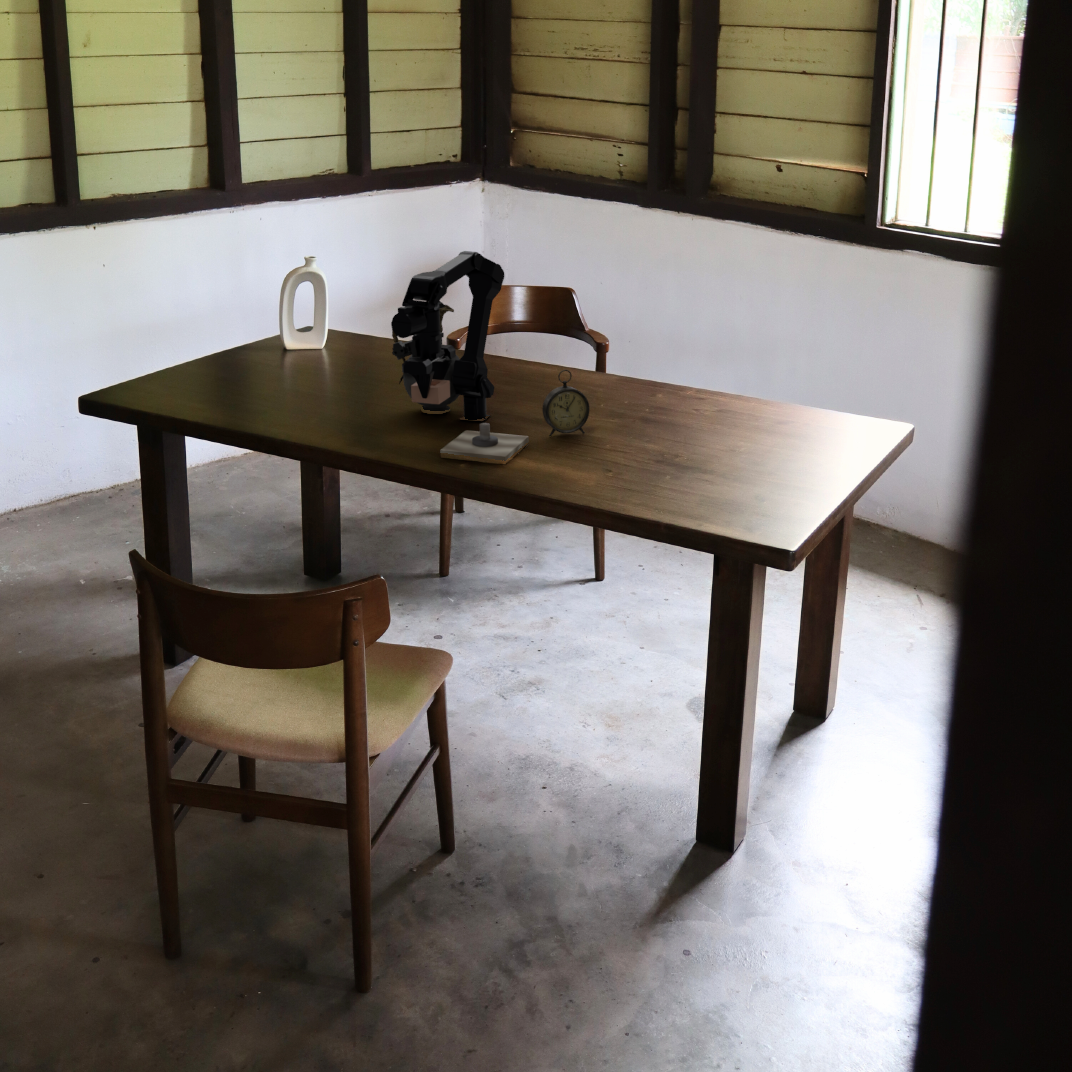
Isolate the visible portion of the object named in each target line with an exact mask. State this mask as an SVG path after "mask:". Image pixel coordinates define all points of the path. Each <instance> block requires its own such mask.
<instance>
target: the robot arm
mask: <svg viewBox="0 0 1072 1072" xmlns="http://www.w3.org/2000/svg"><path fill="white" fill-rule="evenodd" d="M464 276H466V277H467V278H468V287H469V290H470V292H471V293H470V294H471V295H472V301H471V307H470V314H469V320H468V324H467V325H468V326H467V333H466V339H465V345H464V350H463V351H464V352H463V355H462V356H460V357H459V359H460V360H455V362H454V369H453V373H452V382H453V385H454V389H455V392H456V395H459V396H463V415H464V417H465V419H468V420H477V419H482V418H484V419H486V418H485V417H486V416H490V415H487V414H486V413H487V399H489V398H492V396H494V391H495V385H493V383H492V382H491V380H490V379H489V378H488V372H489V371H488V366H487V364H486V361H485V359H484V355H485V350H486V345H487V344H486V342H487V338H488V336H487V335H488V332H489V330H488V329H489V324H490V318H491V311H492V305H493V301H494V300H495V298H496V297H497V295H498V294H499V293H500V292H501V290H502V286H503V283H504V279H505V272H504V269H503V267H502V265H500V264H499V263H496V262H495V261H493V260H491V259H488V258H487V257H485V256H483V255H482V254H481V253H479V252H477V251H467V250H463V251H460V252H459V254H458V255H457V256H455V257H453V258H452V259H450V260H449V261H447V262H446V263H444V264H443V265H440V267H438V268H436V269H435V270H432V271H424V272H420V273H418V274H415V275H413V276H412V277H411V279H410V281H409V284H408V286H407V289H406V292H405V295H404V298H403V300H402V304H401V306H399V307H397V313H395V314H394V316H393V317H392V320H391V323H390V325H391V331H392V330H393V332H394V333H395V334H396V335H397V337H398V338H401V339H405V338H410V337H411V340H407V341H405V342H403V341H401V340H399V341H398V342H396V343H395V342H394V343H392V344H393V345H392V352H391V354H392V355H393V356H394V357H396V359H397V360H398V361H399V360H402V358H403V357H405V358H407V357H410V356H411V355H412V357H419V358H410V359H409V358H407V359H405V360H406V361H405V362H403V363H401V372H402V374H403V373H408V374H410V375H412V376H413V377H414V378H415V380H416V382H417V385H418V387H419V390H420V393H421V395H422V398H427V397H428V393H429V390H430V386H431V382H432V378H433V379H437V380H444V377H445V375H446V373H447V370H448V368H449V366H450V364H451V362H452V360H448V359H447V357H445V356H448V357H449V359H453V358H454V357H456V355H457V354H456V348H455V347H454V345H452V344H442V345H441V338H442V339H443V338H444V337H445V334H444V332H443V331H442V332H440V309H441V308H444V307H445V305H446V304H444V303H443V302H441V299H443V297H444V296H446V294H447V293H448V288H449V287H450V286H451V285H453V284H454V283H456V282H457V281H459V280H460V279H462V278H463V277H464ZM426 301H428V302H426ZM490 417H491V416H490ZM486 420H487V419H486Z"/></svg>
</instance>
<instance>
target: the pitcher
mask: <svg viewBox="0 0 1072 1072" xmlns="http://www.w3.org/2000/svg"><path fill="white" fill-rule="evenodd" d="M426 302H428V301H426ZM444 305H445V307H444V308H441V309H440V332H442V333H443V330H444V329H443V328H444V327H443V320H444V315H445V314H446V313H448V312H451V313H455V310H454V308H453V307H451V306H450V305H448V304H444ZM391 331H392V334H391V337H392V339H393V342H394V343H396V342H399V337H398V336H397V335H396V334H395V333H394V332H393V330H392V329H391ZM441 345H443V337H442V338H441ZM445 357H447V359H448V360H452V362H451V364H450V366H449V368H448V370H447V373H446V375H445V377H444V380H449V381H450V397H449V398H447V399H446V400H445V401H443V402H442V403H440V404H429V403H418V402H416V403H417V404H418V405H420V406H421V407H423V409H424V410H430V411H445V410H449V409H450V408H451V407H450V406H449V405H450V404H452V403H453V402H455V401H457V399H458V398H459V397H460V395H456V392H455V389H454V385H453V382H452V373H453V369H454V362H455V360H460V357H459V356H458V355H457V354H456V357H454V358H453V359H449V357H448V356H445ZM410 358H419V357H412V355H409V356H408V359H410ZM401 360H402V362H403V363H404V362H405V361H406V360H407V359H406V357H403V358H402V359H401ZM432 379H433V378H432ZM402 381H403V386H404V388H405V391H406V393H407V395H408V397H409V398H410V399H412V397H411V385H413V384H414V383H416V380H415V378H414V377H413V376H412V375H410V374H408V373H403V372H402V375H401V376H400V379H399V381H398V385H400V384H401V382H402Z"/></svg>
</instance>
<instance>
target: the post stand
mask: <svg viewBox="0 0 1072 1072" xmlns="http://www.w3.org/2000/svg"><path fill="white" fill-rule="evenodd" d="M529 437H530V436H528V435H521V434H520V435H518V434H511V433H509V434H508V433H499V432H491V425H490V423H488V422H480V423H479V431H478V430H467V429H466V430H464V431H463V432H462V433H460V434H459V435H458V436H457V437H456V438H454V439H453V440H451V441H450V442H448V443H447V444H446V445H444V447H442V448H441V449H440V450H439V451H440V453H448V454H454V455H464V456H470V457H478V458H488V459H495V460H502V461H503V460H504V461H506V460H507V459H508V458H510V457H511V456H512V455H513V454H514V453H515V452H517V451H518V450H519V449H520V448H522V446H524V445H525V444H526V443H528V442H529V443H530V441H529V440H530V439H529Z"/></svg>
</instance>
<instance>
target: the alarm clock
mask: <svg viewBox="0 0 1072 1072" xmlns="http://www.w3.org/2000/svg"><path fill="white" fill-rule="evenodd" d="M563 372H568V373H569V375H570V376H569V379H568V380H563V381H562V380H561V378H560V376H561V374H562V373H563ZM572 376H573V375H572V373H571V371H570V370H568V369H562V370H561V371H560V372H559V373H558V376H557V378H558V380H559V382H560V383H561V384H562V386H558V387H555V388H554V389H552V390H551V391H550V392H549V393H548V394H547V395H546V396H545V398H544V399H543V403H542V409H541V410H542V416H543V419H544V421H545V422H546V423H547V424H548V426H549V427H551V428H552V430H551V432H550V434H548V437H549V436H551V437H552V436H553V435H554V433H555V432H559V433H560V434H571V433H575V432H577V431H578V430H579V431H580V432H581V433H582V434H583V435H584V434H585V433H586V431H585V430H583V428H582V427H583V426H584V425H585V424H586V422H587V421H588V419H589V416H590V411H591V410H590V403H589V400H588V398H587V396H586V395H585V394H584V393H583V392H582V391H580V390H578V388H574V387H572V386H569V385H567V383H569V382H570V381H571V380H572Z"/></svg>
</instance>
